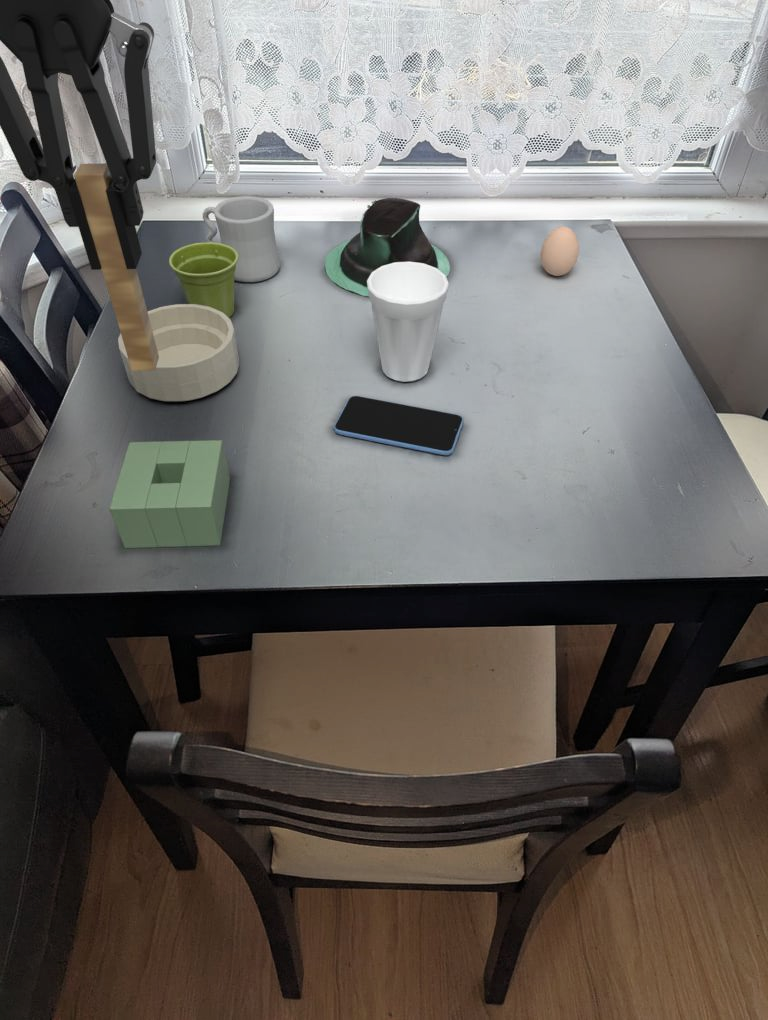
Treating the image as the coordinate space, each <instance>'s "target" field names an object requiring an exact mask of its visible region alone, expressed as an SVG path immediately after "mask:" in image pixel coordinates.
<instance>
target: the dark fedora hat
mask: <svg viewBox="0 0 768 1020" xmlns="http://www.w3.org/2000/svg"><path fill="white" fill-rule="evenodd" d="M366 208H367V209H365V211H364V212H363V213H362V215H361V218H360V227H359V232H358V233H357V234H355V235H354V236H353V237H352V238H350V239H348V240H346V241H344V242H342V243H340V244H339V245H337V246H336V247H334V248H333V249H332V250H330V252H328V254H327V256H326V258H325V261H324V264H325V265H324V268H325V272H326V275H327V277H328V278H329V280H330V281H331V282H332V283H334V284H336V285H337V286H339V287H340V288H342V289H344V290H346V291H350V292H353V293H355V294H358V295H360V296H363V297H369V294H368V286H367V280H368V278H369V276H370V274H371V273H372V272H373V271H375V270H376V269H378V268H380V267H381V266H384V265H387V264H391V263H395V262H416V263H424V264H427V265H429V266H432V267H435V268H437V269H438V270H439V271H441V272H442V273H443V274H444V275H445V276H446V278H448V276H449V273H450V269H451V265H450V262H449V259H448V258H447V256H446V254H444V252H443V251H442V250H440V249H439V248H438V247H436V246H435V245H433V244H431V243H430V241H429V239H428V237H427V235H426V234H425V232H424V231H423V228H422V226H421V224H420V209H421V204H419V203H418V202H416V201H412V200H409V199H405V198H401V197H400V198H398V197H386V198H381V199H378V200H376V199H375V200H374V201H371V205H370V204H367V206H366Z"/></svg>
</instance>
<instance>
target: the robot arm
mask: <svg viewBox="0 0 768 1020" xmlns="http://www.w3.org/2000/svg"><path fill="white" fill-rule="evenodd" d="M110 34H112V35H113V37H114V38H115V43H116V50H117V52H118V54H119V55H120V56H122V57H123V58H125V59H124V63H123V75H124V76H123V77H124V86H125V93H126V95H125V96H126V104H127V112H128V123H129V131H130V141H131V149H132V155H131V152H130V150H129V147H128V143H127V141H126V138H125V135H124V132H123V129H122V126H121V123H120V120H119V118H118V114H117V112H116V108H115V105H114V103H113V99H112V97H111V93H110V91H109V88H108V86H107V82H106V78H105V77H106V75H105V69H104V67H103V65H102V61H101V58H100V57H101V55H102V52H103V50H104V47H105V45H106V42H107V40H108V38H109V35H110ZM154 39H155V30H154V28H153V27H152V26H151V24H149V23H148V22H146V21H145V22H144V21H143V22H140V23H138V24H137V23H135V22H134V21H132V20H131V19H128V18H126V17H125V16H123V15H120V14H119V13H117V12H116V11H115V8H114V5H113V3H112V1H111V0H0V42H1V43H2V44H3V45H4V46H5V47H6V48H7V49H8V51H10V52H11V53H12V54H13V55H14V56H15V58H16V59H18V61H20V63H21V64H22V68H23V69H22V70H23V74H24V78H25V83H26V87H27V90H28V91H29V92H30V94H31V101H32V105H33V109H34V115H35V119H36V123H37V127H38V132H39V138H40V139H39V138H38V135H37V133H36V131H35V129H34V127H33V124H32V122H31V119H30V117H29V115H28V113H27V111H26V109H25V106H24V104H23V102H22V100H21V97H20V95H19V93H18V91H17V88H16V86H15V84H14V82H13V80H12V77H11V76H10V72H9V70H8V68H7V66H6V64H5V62H4V59H2V57H1V56H0V129H1V131H2V133H3V135H4V137H5V139H6V141H7V143H8V145H9V148H10V150H11V152H12V154H13V156H14V158H15V160H16V163H17V164H18V166H19V168H20V170H21V173H22V176H24V178H26V179H27V180H28V181H31V182H36V181H41V182H44V183H47V184H49V185H50V186H51V187H52V188H53V189H54V191H55V194H56V198H57V201H58V204H59V208H60V210H61V213H62V217H63V219H64V220H63V221H64V222H65V223H66V225H67V226H68V227H69V228H78V230H79V234H80V237H81V239H82V244H83V246H84V249H85V253H86V256H87V259H88V262H89V266H90V270H92V271H93V270H94V271H96V270H99V271H102V268H101V265H100V261H99V258H98V254H97V251H96V248H95V244H94V241H93V237H92V234H91V231H90V227H89V224H88V221H87V217H86V214H85V210H84V207H83V204H82V200H81V197H80V194H79V190H78V187H77V184H76V180H75V177H74V174H75V172H76V171H77V165H74V164H73V163H74V162H73V157H72V152H71V147H70V142H69V135H68V131H67V125H66V119H65V114H64V108H63V103H62V98H61V93H60V87H59V74H63V75H66V76H67V75H68V76H71V79H72V82H73V84H74V85H75V89H76V90H77V92H78V93H79V94H80V95H81V98H82V101H83V104H84V106H85V109H86V112H87V114H88V117H89V120H90V122H91V126H92V128H93V131H94V133H95V136H96V139H97V142H98V144H99V146H100V150H101V153H102V155H103V158H104V161H105V163H107V166H108V168H109V171H110V174H111V177H112V180H111V182H110V184H109V186H108V188H107V189H106V194H107V197H108V201H109V205H110V208H111V212H112V216H113V220H114V223H115V227H116V231H117V234H118V238H119V242H120V246H121V249H122V253H123V257H124V260H125V264H126V268H127V269H136V270H137V268H138V265H139V262H140V260H141V257H142V255H143V252H142V247H141V244H140V239H139V236H138V231H137V228H136V227H140V226H141V223H142V221H143V218H144V213H145V211H144V209H143V208H144V207H143V203H142V200H141V194H140V190H139V187H138V182H139V181H141V180H148V179H150V177H151V176H152V173H153V171H154V168H155V167H156V164H157V152H156V141H155V130H154V128H155V127H154V117H153V104H152V93H151V82H150V80H151V79H150V70H149V58H150V55H151V51H152V46H153V43H154Z"/></svg>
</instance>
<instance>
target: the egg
mask: <svg viewBox="0 0 768 1020" xmlns="http://www.w3.org/2000/svg"><path fill="white" fill-rule="evenodd" d="M579 254H580V245H579V241H578V236H577V235H576V233H575V232H574V230H572V229H571V228H570V227H568V226H559V227H556V228H554V229H553V230H552V231H550V232H549V234H548V235H547V236H546V238H545V239H544V241H543V243H542V246H541V250H540V262H541V265H542V267H543V269H544V270H545V271H546V272H547V273H548V274H549V275H552V276H555V277H558V276H559V277H560V276H564V275H565V274H567V273H569V272H570V271H571V270H572V269H573V268H574V267H575V265H576V264H577V262H578V258H579Z"/></svg>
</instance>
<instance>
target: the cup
mask: <svg viewBox="0 0 768 1020" xmlns="http://www.w3.org/2000/svg"><path fill="white" fill-rule="evenodd" d="M367 286H368V294H369V296H368V298H369V302H370V305H371V311H372V317H373V323H374V329H375V334H376V341H377V347H378V351H379V352H378V353H379V358H380V363H381V369H382V373H383V374H384V375H385V376H386V377H387V378H390V379H392V380H394V381H397V382H403V383H404V382H415V381H417V380H421V379H422V378H424V377H425V376H426V375H427V374H428V371H429V368H430V366H431V365H430V364H431V360H432V356H433V352H434V347H435V344H436V339H437V334H438V330H439V326H440V322H441V317H442V313H443V309H444V305H445V302H446V300H447V296H448V292H449V291H448V290H449V287H450V283H449V281H448V277H446V276H445V275H444V274H443V273H442V272H441V271H439V270H438V269H437V268H435V267H432V266H429V265H427V264H424V263H416V262H395V263H391V264H387V265H384V266H381V267H380V268H378V269H376V270H375V271H373V272H372V273H371V274H370V276H369V278H368V280H367Z"/></svg>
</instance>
